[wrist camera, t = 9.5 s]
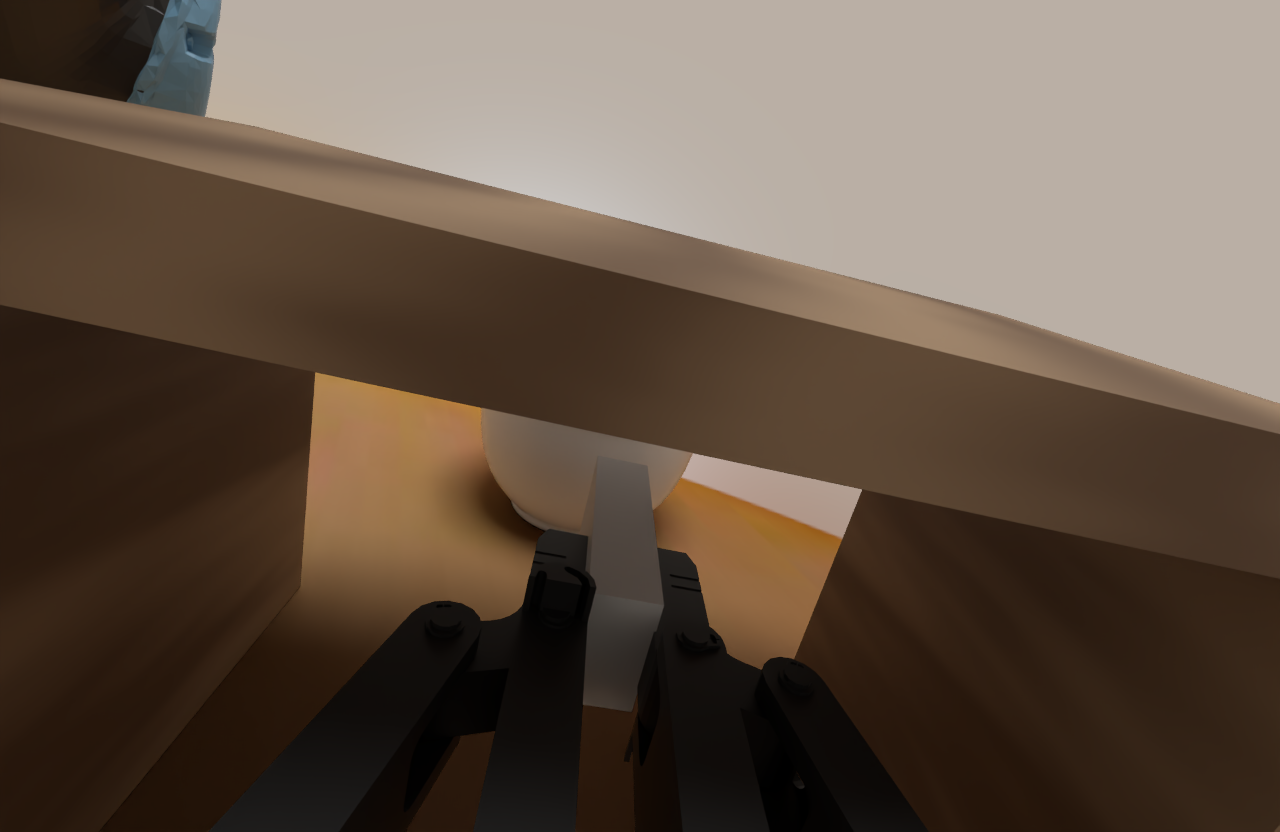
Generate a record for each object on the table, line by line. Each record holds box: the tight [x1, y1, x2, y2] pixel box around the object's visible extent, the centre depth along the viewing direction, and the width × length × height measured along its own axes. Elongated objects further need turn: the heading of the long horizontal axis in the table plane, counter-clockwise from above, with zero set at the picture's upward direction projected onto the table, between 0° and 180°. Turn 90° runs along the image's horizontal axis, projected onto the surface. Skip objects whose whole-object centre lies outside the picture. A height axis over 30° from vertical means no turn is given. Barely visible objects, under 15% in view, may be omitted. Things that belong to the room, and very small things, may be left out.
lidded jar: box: [481, 408, 693, 534], centre depth 30 cm, size 11×11×9 cm
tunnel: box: [0, 79, 1280, 832], centre depth 14 cm, size 22×13×14 cm, turn 91°
